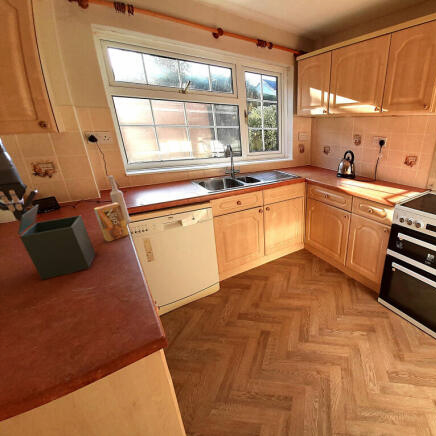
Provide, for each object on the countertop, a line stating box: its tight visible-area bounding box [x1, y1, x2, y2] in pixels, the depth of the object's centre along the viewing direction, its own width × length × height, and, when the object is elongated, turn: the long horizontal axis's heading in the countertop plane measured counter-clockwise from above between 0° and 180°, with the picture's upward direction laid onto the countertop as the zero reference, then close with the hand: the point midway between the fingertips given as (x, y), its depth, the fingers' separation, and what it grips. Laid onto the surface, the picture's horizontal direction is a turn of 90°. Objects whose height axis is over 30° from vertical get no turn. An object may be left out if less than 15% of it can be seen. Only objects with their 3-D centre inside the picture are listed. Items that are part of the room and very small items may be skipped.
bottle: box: [107, 175, 132, 225], centre depth 123 cm, size 5×5×25 cm
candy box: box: [93, 202, 130, 242], centre depth 109 cm, size 9×4×15 cm, turn 145°
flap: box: [17, 204, 39, 236], centre depth 81 cm, size 6×13×1 cm
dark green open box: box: [19, 215, 96, 280], centre depth 88 cm, size 13×13×16 cm
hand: (23, 220), depth 80 cm, fingers closed
